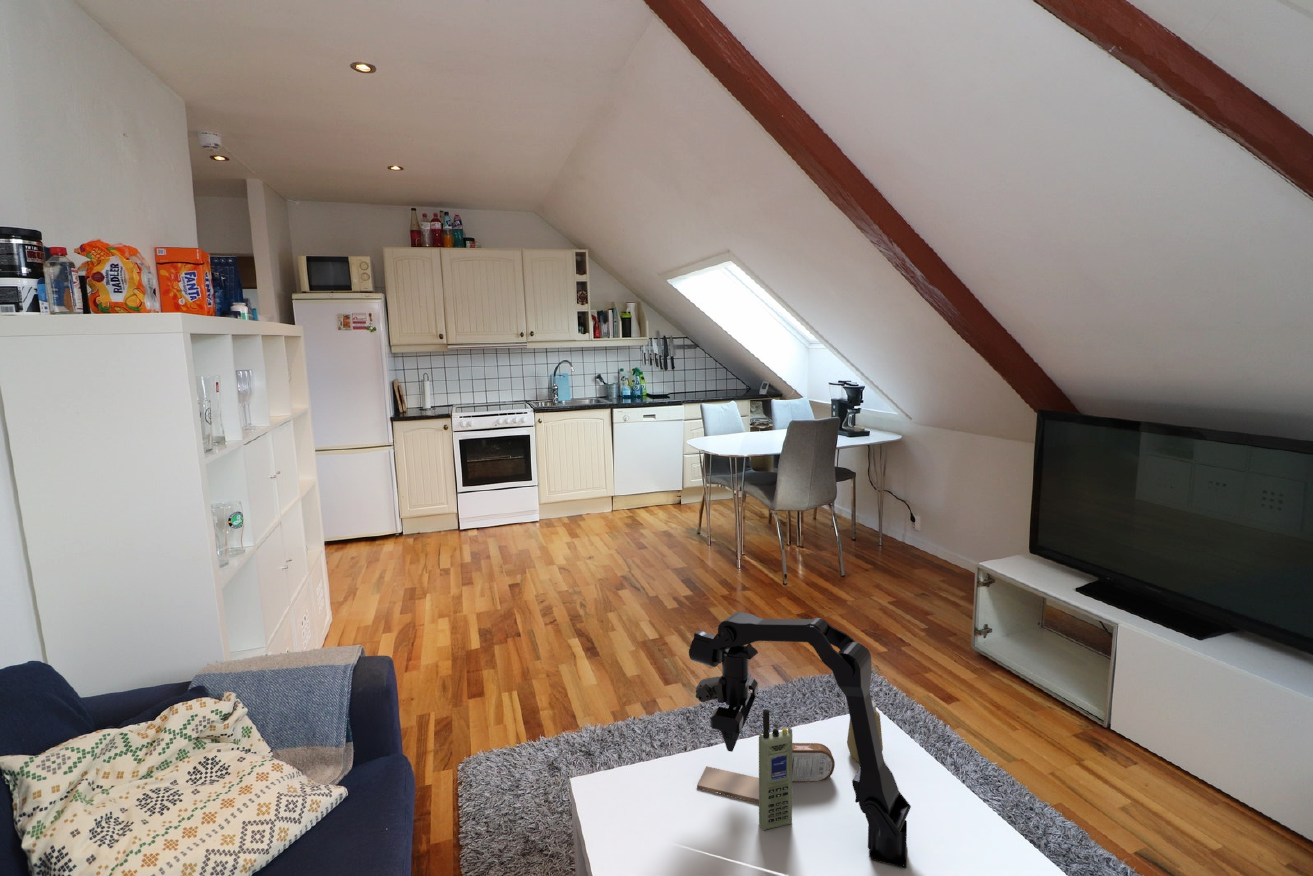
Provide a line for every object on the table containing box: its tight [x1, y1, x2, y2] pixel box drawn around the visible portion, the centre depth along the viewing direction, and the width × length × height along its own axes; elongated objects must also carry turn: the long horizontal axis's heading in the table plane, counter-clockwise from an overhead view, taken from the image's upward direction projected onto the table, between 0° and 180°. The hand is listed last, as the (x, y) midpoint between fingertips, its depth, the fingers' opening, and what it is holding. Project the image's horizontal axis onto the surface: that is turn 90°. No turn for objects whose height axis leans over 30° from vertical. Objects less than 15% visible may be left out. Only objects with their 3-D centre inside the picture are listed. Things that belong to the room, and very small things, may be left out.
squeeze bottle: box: [846, 699, 884, 764], centre depth 148 cm, size 8×8×18 cm
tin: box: [792, 742, 836, 784], centre depth 141 cm, size 15×3×8 cm, turn 94°
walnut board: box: [696, 765, 759, 804], centre depth 140 cm, size 16×7×1 cm, turn 69°
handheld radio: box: [758, 708, 793, 831], centre depth 128 cm, size 7×3×25 cm, turn 105°
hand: (735, 739), depth 139 cm, fingers open, 9 cm apart
